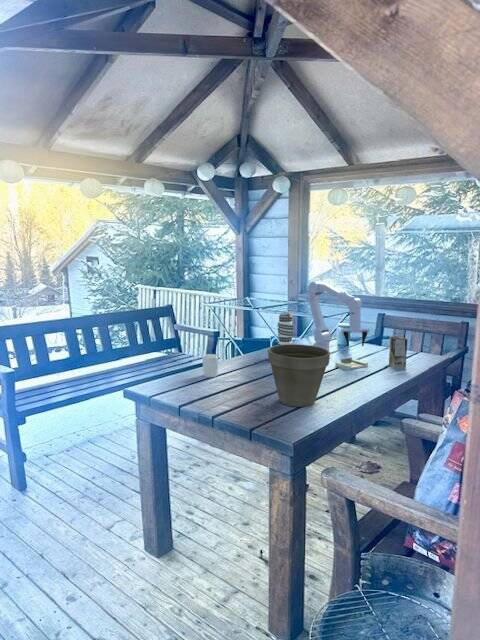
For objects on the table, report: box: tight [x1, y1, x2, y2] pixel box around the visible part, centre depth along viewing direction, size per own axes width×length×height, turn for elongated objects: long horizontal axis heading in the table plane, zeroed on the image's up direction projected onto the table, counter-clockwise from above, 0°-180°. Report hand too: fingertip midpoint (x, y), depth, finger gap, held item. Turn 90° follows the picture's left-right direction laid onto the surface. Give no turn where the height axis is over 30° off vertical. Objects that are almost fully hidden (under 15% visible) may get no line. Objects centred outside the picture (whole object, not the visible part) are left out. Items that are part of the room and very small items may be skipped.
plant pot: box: [267, 343, 331, 408], centre depth 187 cm, size 25×25×22 cm
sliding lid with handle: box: [340, 357, 366, 370], centre depth 241 cm, size 9×10×4 cm
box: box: [335, 358, 369, 371], centre depth 241 cm, size 9×15×2 cm, turn 121°
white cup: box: [201, 353, 219, 378], centre depth 226 cm, size 8×8×10 cm
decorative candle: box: [277, 312, 294, 345], centre depth 266 cm, size 9×9×25 cm
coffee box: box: [388, 335, 408, 370], centre depth 240 cm, size 9×6×16 cm
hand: (355, 345), depth 245 cm, fingers open, 7 cm apart
